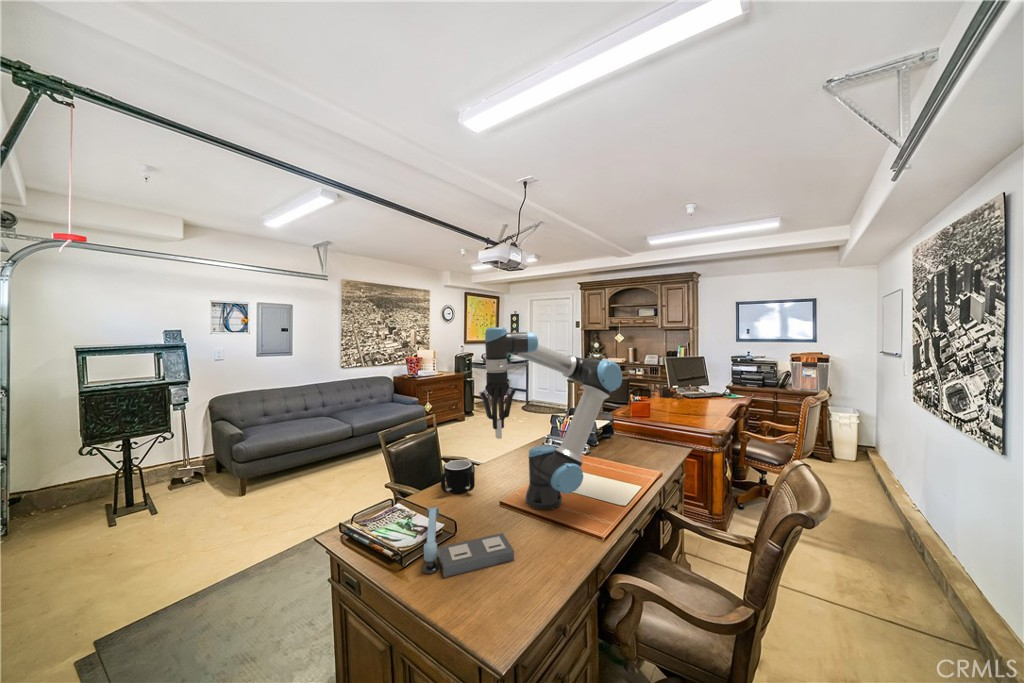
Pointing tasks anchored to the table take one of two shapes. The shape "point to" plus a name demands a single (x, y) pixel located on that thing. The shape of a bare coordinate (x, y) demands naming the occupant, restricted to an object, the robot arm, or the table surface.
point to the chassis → (474, 554)
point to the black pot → (458, 476)
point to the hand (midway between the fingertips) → (498, 437)
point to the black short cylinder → (430, 567)
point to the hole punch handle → (431, 535)
